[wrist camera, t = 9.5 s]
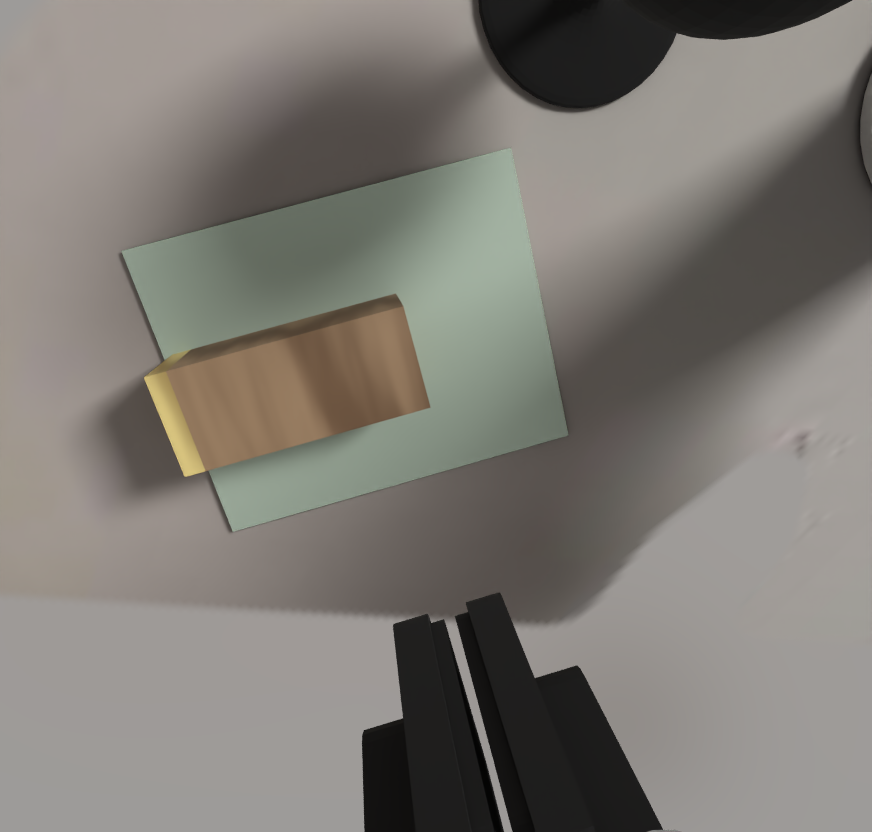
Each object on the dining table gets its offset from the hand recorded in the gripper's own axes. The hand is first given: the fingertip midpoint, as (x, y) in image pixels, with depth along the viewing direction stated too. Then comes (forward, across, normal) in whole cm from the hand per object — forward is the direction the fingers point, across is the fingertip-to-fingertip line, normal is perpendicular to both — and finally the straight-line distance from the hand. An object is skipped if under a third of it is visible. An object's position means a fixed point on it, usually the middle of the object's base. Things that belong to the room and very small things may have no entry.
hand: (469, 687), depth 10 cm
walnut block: (+24, -2, 0) cm, 24 cm away
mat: (+27, +1, 0) cm, 27 cm away
